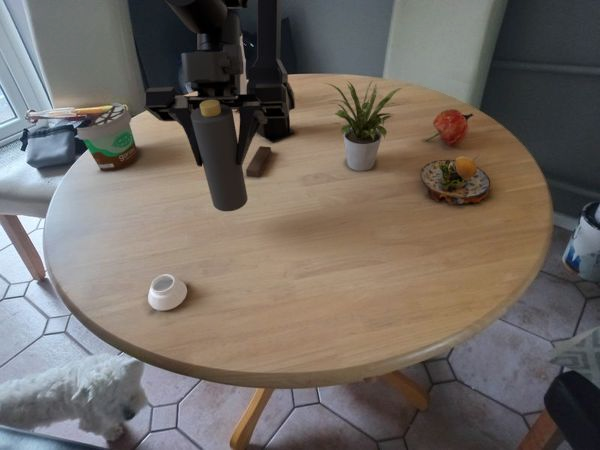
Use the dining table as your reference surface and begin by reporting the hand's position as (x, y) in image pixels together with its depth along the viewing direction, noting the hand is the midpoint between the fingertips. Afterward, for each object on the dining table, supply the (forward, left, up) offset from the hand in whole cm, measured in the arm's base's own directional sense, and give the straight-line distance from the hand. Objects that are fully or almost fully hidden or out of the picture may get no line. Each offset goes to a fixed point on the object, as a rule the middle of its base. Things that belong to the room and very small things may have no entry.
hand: (219, 165), depth 50 cm
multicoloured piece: (-37, +14, -14) cm, 42 cm away
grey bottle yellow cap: (-1, -1, -7) cm, 7 cm away
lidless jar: (+13, +4, -14) cm, 19 cm away
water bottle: (-26, -42, -14) cm, 51 cm away
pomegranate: (-49, +4, -14) cm, 51 cm away
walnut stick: (-15, -15, -13) cm, 25 cm away
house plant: (-29, -3, -14) cm, 32 cm away
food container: (+5, -36, -14) cm, 39 cm away
